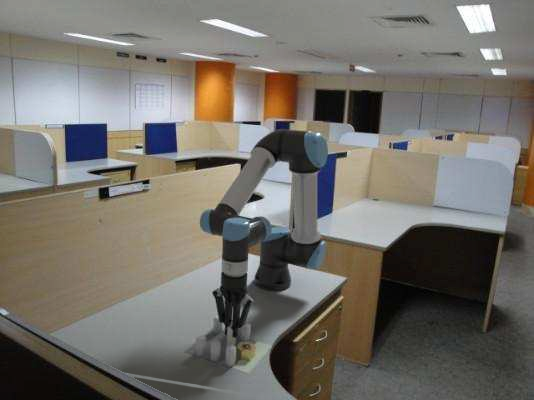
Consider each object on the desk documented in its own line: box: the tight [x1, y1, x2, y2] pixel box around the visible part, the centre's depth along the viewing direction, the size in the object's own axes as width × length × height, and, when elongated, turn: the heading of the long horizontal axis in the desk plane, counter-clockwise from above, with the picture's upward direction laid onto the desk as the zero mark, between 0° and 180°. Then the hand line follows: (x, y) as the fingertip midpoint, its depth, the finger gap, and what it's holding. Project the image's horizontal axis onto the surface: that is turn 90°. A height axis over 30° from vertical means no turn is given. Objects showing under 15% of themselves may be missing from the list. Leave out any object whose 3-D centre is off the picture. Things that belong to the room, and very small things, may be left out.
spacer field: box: [184, 314, 273, 374], centre depth 133 cm, size 16×21×6 cm
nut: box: [236, 342, 256, 361], centre depth 130 cm, size 6×5×3 cm
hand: (231, 345), depth 133 cm, fingers closed
